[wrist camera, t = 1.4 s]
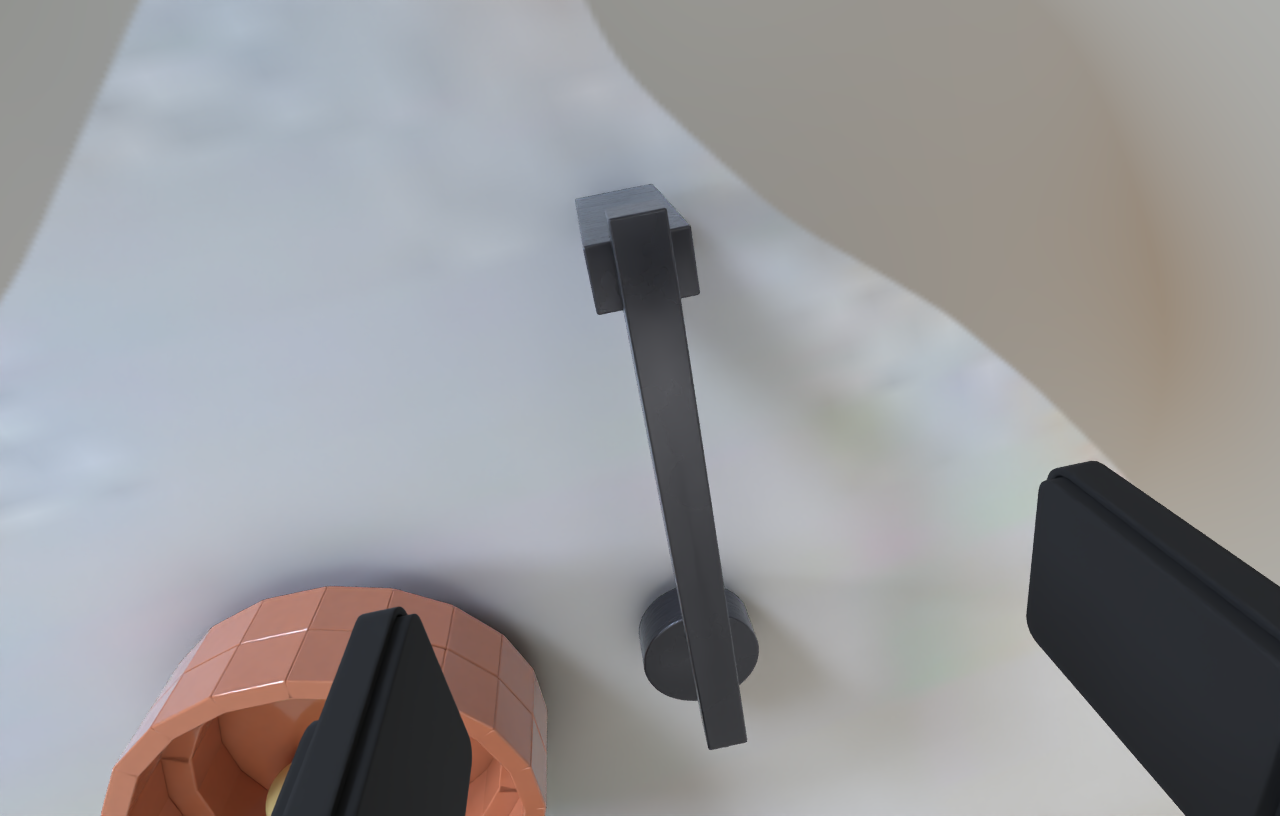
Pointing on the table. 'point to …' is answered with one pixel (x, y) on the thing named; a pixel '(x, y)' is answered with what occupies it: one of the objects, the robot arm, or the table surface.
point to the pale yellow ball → (275, 790)
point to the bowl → (320, 707)
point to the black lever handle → (672, 453)
